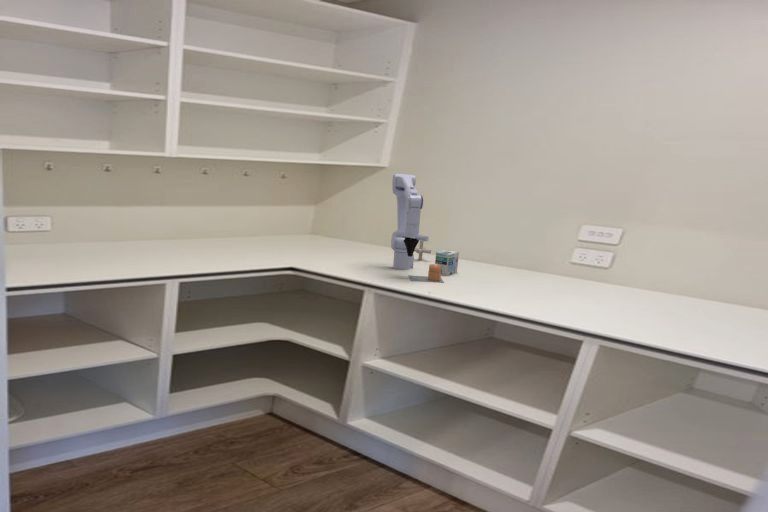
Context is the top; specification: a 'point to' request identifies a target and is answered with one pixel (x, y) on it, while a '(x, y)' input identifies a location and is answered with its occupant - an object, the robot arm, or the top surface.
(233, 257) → the top surface
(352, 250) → the top surface
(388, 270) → the top surface
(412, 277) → the faceplate
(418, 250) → the pipe connector
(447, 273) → the light bulb box
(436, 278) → the knob
